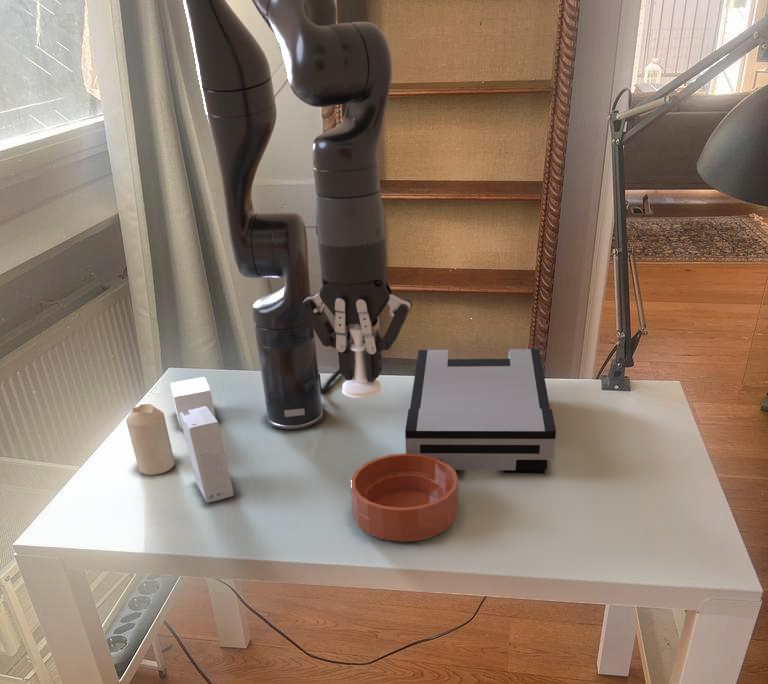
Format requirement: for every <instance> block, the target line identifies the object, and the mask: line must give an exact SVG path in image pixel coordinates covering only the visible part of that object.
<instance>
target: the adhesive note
mask: <svg viewBox="0 0 768 684" xmlns="http://www.w3.org/2000/svg"><path fill="white" fill-rule="evenodd" d="M169 386H170V390H171V395H172V399H173V403H174V408H175V413H176V417H177V420H178V425H179V428H180V430H183V427H182V423H181V419H180V413H181V412H185V411H189V410H193V409H196V408H200V407H205V406H207V407H208V409H209V410H210V412H211V413H212V414H213V416H214V417H215V418H216V419H217V417H216V412H215V407H214V406H215V405H214V402H213V397H212V391H211V387H210V386H209V383H208V381H207V378H206V376H201V377H196V378H190V379H184V380H179V381H173V382H170V383H169Z"/></svg>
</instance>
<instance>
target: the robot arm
mask: <svg viewBox="0 0 768 684" xmlns="http://www.w3.org/2000/svg"><path fill="white" fill-rule="evenodd" d="M251 1H252V3H253V5H254V6H255V9H256V10H257V12H258V13H259V14H260V16H261V18H262V19H263V20H264V22H265V23H266V24H267V26H268V28H269V29H270V30H271V32H272V33H273V35H274V36H275V39H276V41H277V45H278V48H279V50H280V54H281V57H282V60H283V65H284V68H285V72H286V76H287V81H288V84H289V87H290V89H291V92H292V93H293V94H294V96H296V98H298V99H299V100H300V101H301V102H303V103H305V105H308V106H311V107H315V108H326V107H333V106H340V105H341V106H342V105H346V108H345V112H344V115H343V117H342V120H341V122H340V123H338V125H336V126H335V127H333V128H331V129H328V130H327V131H324V132H321V133H320V134H319V135H317V136H316V137H315V138H314V140H313V142H312V149H311V151H312V165H313V176H314V177H313V178H314V187H315V224H316V225H315V234H316V236H317V244H318V245H317V246H318V256H319V269H320V277H321V285H320V288H319V290H318V293H316V294H311V284H310V283H311V282H310V269H309V246H308V236H307V229H306V226H305V225H306V224H305V222H304V220H303V217H302V216H301V215H300V214H299V213H296V212H289V211H287V212H286V211H285V212H255V211H254V208H253V202H252V201H253V200H252V191H253V189H252V188H253V185H254V180H255V178H256V173H257V172H258V171H257V170H258V167H259V166H260V163H261V160H262V159H263V157H264V154H265V153H266V149H267V147H268V145H269V143H270V141H271V137H272V134H273V132H274V129H275V124H276V121H277V107H276V106H277V105H276V99H275V98H276V97H275V92H274V86H273V79H272V73H271V67H270V64H269V60H268V58H267V56H266V53H265V51H264V50H263V48H262V47H261V45H260V43H259V42H258V41H257V40H256V38H255V37H254V35H253V34H252V32H251V31H250V30H249V29H248V27H246V25H245V24H244V22H243V21H242V20H241V19H240V17H239V16H238V15H237V14H236V13H235V11H234V10H233V9H232V8H231V6H230V5H229V3H228V2H227V1H226V0H182V2H183V6H184V10H185V14H186V19H187V24H188V28H189V29H188V30H189V33H190V39H191V43H192V48H193V54H194V58H195V64H196V71H197V75H198V80H199V85H200V90H201V95H202V99H203V100H202V101H203V105H204V110H205V114H206V118H207V122H208V126H209V130H210V134H211V138H212V142H213V147H214V151H215V157H216V160H217V164H218V169H219V175H220V180H221V186H222V193H223V198H224V206H225V215H226V221H227V227H228V236H229V241H230V248H231V252H232V253H231V254H232V256H233V260H234V263H235V266H236V268H237V271H238V272H239V273H240V274H241V276H242V277H245V278H251V279H281V278H282V279H284V282H285V283H284V284H285V285H284V286H283V287H282V288H280V289H278V290H277V291H274V292H271V293H269V294H267V295H266V294H265V295H264V296H262V297H260V298H258V299H257V300H256V301H255V302H254V303H253V305H252V308H251V309H252V311H251V313H252V320H253V326H254V333H255V340H256V345H257V347H256V348H257V353H258V360H259V366H260V373H261V379H262V380H261V381H262V386H263V394H264V401H265V407H266V408H265V409H266V419H267V422H268V424H269V425H270V426H271V427H273V428H277V429H279V430H287V431H288V430H291V431H292V430H300V429H305V428H308V427H311V426H314V425H316V424H318V423H319V422H320V421H321V420H322V419H323V417H324V412H323V411H324V410H323V407H322V396H321V394H323V393H326V392H327V391H328V389H329V388H330V386H331V384H332V383H333V382H334V381H335V380H336V378H337V377H338V376H339V375H341V376H344V381H347V380H350V381H351V380H352V377H353V376H354V370H355V351H352V350H351V349H350V346H351V345H352V341H353V338H352V335H351V333H350V331H349V328H350V327H351V326H353V325H355V324H358V325H361V330H362V335H363V336H364V343H365V344H366V350H365V351H366V354H365V365H366V370H367V381H368V382H374V381H375V380H376V379H378V378H379V377H380V375H381V373H382V371H383V366H382V365H383V362H382V361H383V360H382V351H389V350H390V349H391V347H392V346H393V344H394V343H395V342H396V340H397V338H398V336H399V334H400V332H401V330H402V329H403V326H404V324H405V321H406V320H407V318H408V316H409V313H410V312H411V309H412V307H413V302H412V300H411V299H409V298H405V299H404V300H403V299H401V298H400V297H399V296H396V295H394V294H393V291H392V288H391V287H390V284H389V282H388V269H387V268H388V267H387V250H386V249H387V247H386V226H385V225H386V224H385V211H384V210H385V209H384V204H383V198H382V191H381V172H380V145H381V139H382V134H383V127H384V122H385V116H386V110H387V106H388V101H389V96H390V91H391V86H392V78H393V56H392V51H391V48H390V45H389V43H388V40H387V37H386V35H385V34H384V32H383V31H382V30H381V28H379V27H378V26H377V25H376V24H374V23H372V22H368V21H351V22H344V23H343V22H342V23H337V21H338V7H337V3H336V1H335V0H251ZM387 305H388V306H389V311H388V314H389V316H390V317H391V318H392V319H391V322H390V323H389V326H388V327H387V329H386V332H385V333H384V335H383V336H381V330H380V329H381V322H380V321H381V320H380V315H381V313H382V312H383V310H384V309H385V307H386V306H387ZM326 307H327V309H328V310H329V312H330V313H331V314H332V315H333V316H334V318H335V319H334V325H333V324H332V322H331V320H330V318H329V317H328V315H327V313H326V311H325V308H326ZM315 334H316V336H317V337H318V339H319V341H320V342H321V344H322V346H324V347H325V348H326V347H331V348H334V349H335V350H336V351H337V354H338V364H339V365H338V366H339V368H338V369H336V371H335V372H333V373H332V374H331V376H330V377H329V378H328V379H327V380H326V382H325V384H324V385H323V386H322V380H321V379H322V378H321V373H319V366H318V358H317V349H316V339H315Z"/></svg>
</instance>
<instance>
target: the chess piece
mask: <svg viewBox="0 0 768 684" xmlns="http://www.w3.org/2000/svg"><path fill="white" fill-rule="evenodd" d="M349 331H350V333H351V335H352V341H353V343H351V346H350V349H351V350H352V351H354V360H355V370H354V376H353V377H352V380H351V381H350V380H345V381H344V382H343V384H342V389H341V393H342V394H343V395H344V396H346V397H348V398H350V399H368V398H372V397H375V396H377V395H379V394H380V393H381V392H382V390H383V389H382V384H381V382H380V380H379V379H378V378H376V380H375V381H374V382H368V381H367V368H366V359H365V355H364V352H365V351H367V350H366V344H365V342H364V340H365V338H364V336H363V335H362V330H361V325H358V324H353V326H351V327H350V328H349Z"/></svg>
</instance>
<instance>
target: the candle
mask: <svg viewBox="0 0 768 684" xmlns="http://www.w3.org/2000/svg"><path fill="white" fill-rule="evenodd" d="M125 422H126V426H127V429H128V433H129V437H130V441H131V445H132V448H133V452H134V456H135V461H136V464H137V468H138V470H139V472H140V473H142V474H144V475H149V476H154V475H160V474H164V473H166V472H168V471H170V470H171V469H172V468H173V467H174V466H175V456H174V452H173V448H172V443H171V440H170V433H169V431H168V426H167V422H166V417H165V414H164V411H163V410H161V409H159V408H157V407H156V406H155V405H153V404H151V403H143V404H140V405H139V406H136V407H132V409H131V410H130V412H129V413H128V415H127V417H126V419H125Z"/></svg>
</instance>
